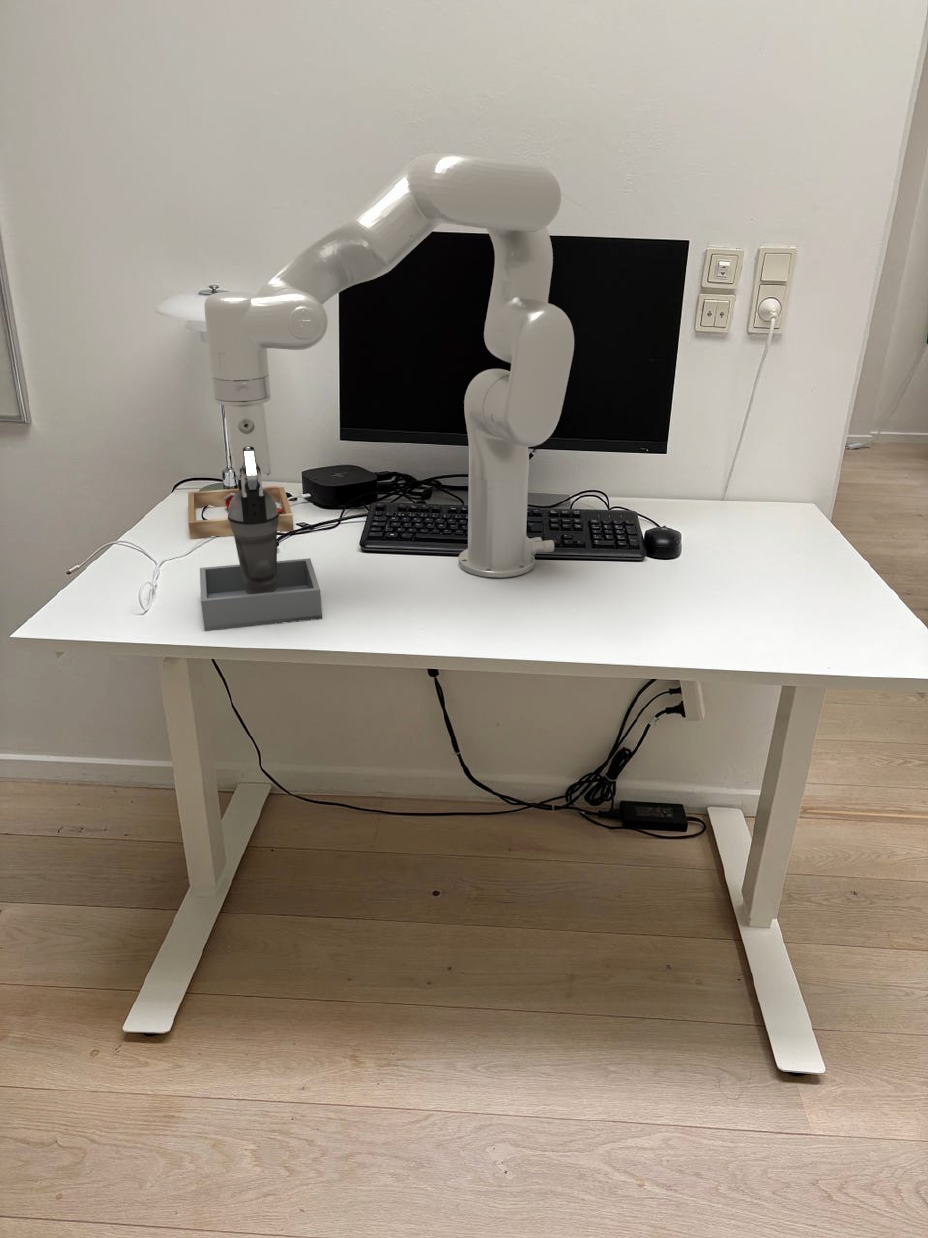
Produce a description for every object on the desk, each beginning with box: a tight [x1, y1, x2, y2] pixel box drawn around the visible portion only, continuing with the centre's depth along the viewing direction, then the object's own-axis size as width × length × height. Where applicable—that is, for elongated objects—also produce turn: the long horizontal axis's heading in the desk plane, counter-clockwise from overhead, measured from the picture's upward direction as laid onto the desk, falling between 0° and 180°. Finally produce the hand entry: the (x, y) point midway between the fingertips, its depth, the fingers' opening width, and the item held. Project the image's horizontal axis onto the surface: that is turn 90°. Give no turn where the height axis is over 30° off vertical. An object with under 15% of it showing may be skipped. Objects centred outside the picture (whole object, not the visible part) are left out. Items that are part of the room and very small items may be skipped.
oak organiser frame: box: [187, 485, 295, 540], centre depth 178 cm, size 18×18×3 cm
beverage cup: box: [227, 471, 279, 594], centre depth 138 cm, size 7×7×20 cm
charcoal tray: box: [199, 558, 323, 632], centre depth 142 cm, size 17×13×5 cm
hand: (253, 513), depth 137 cm, fingers closed on beverage cup, 7 cm apart
